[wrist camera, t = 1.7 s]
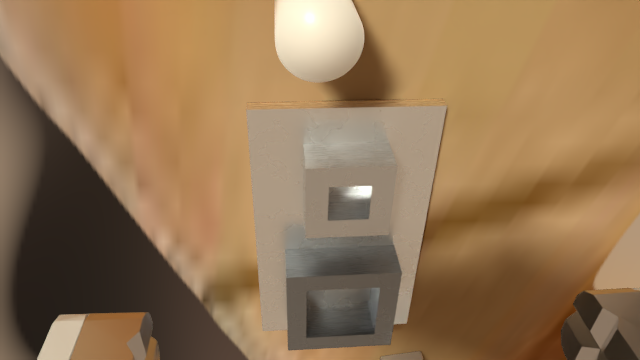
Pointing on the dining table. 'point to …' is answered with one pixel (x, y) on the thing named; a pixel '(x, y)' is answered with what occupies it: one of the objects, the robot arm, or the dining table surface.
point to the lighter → (404, 356)
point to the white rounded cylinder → (318, 37)
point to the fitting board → (340, 214)
